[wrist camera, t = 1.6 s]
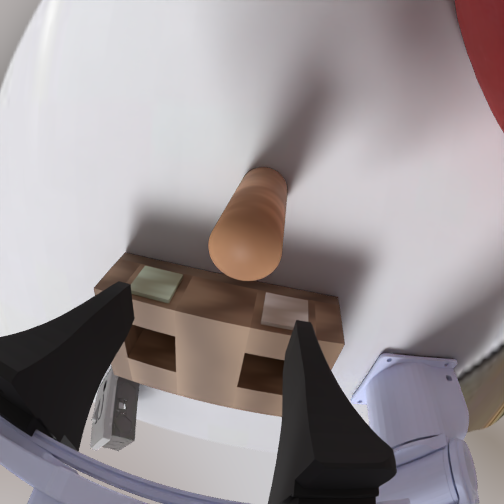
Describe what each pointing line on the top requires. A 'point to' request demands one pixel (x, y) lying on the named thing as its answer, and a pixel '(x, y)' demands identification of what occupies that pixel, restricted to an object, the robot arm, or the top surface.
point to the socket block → (215, 332)
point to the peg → (251, 227)
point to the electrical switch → (114, 413)
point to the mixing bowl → (485, 47)
